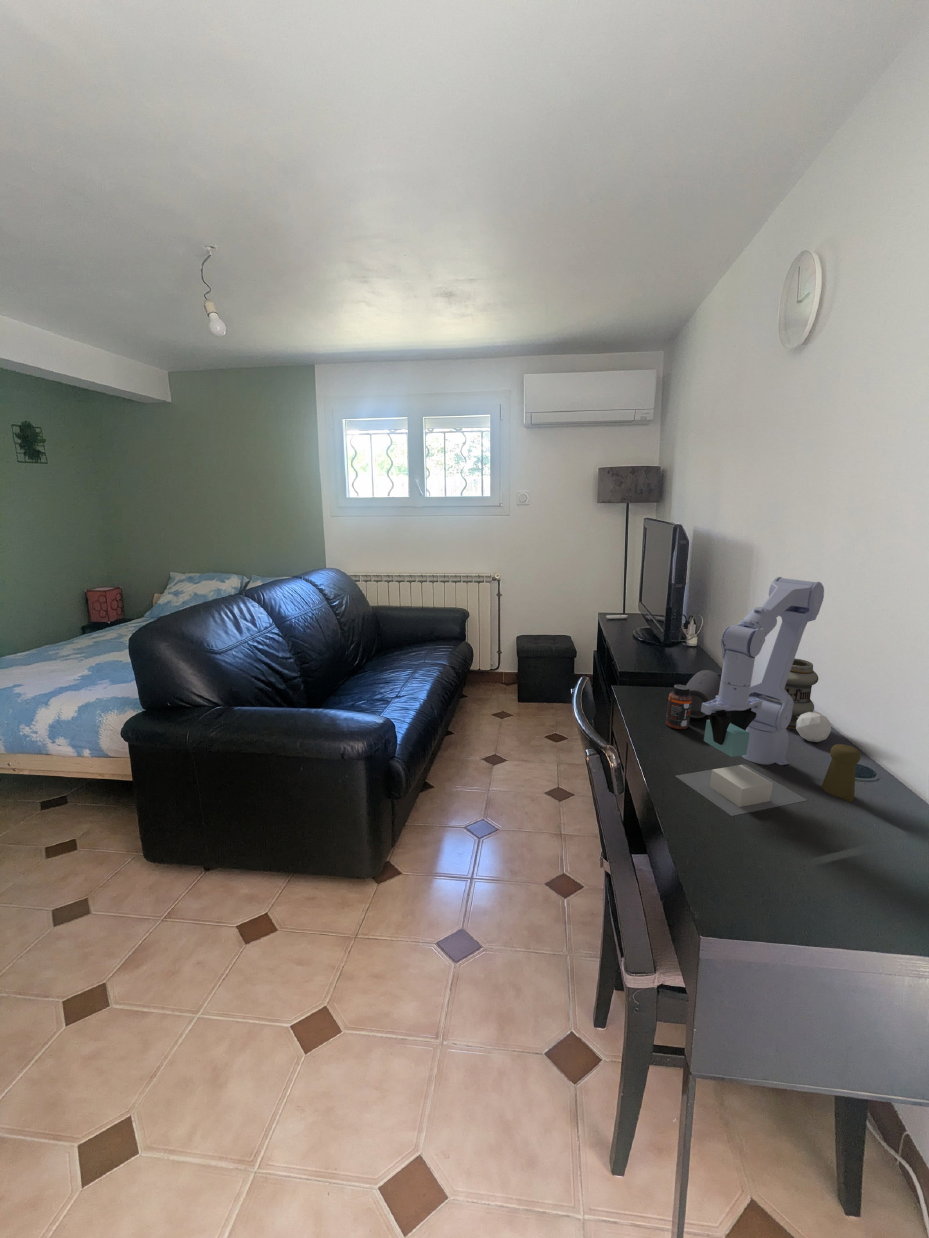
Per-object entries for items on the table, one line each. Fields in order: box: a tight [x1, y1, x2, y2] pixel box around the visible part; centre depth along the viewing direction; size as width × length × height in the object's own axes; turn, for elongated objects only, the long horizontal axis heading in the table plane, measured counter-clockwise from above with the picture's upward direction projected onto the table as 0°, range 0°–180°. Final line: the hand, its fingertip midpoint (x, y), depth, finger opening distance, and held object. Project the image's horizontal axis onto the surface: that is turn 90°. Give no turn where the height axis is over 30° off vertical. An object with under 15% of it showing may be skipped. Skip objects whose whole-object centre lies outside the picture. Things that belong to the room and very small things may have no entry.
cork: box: [821, 743, 861, 803], centre depth 114 cm, size 6×6×11 cm
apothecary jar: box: [764, 657, 819, 730], centre depth 151 cm, size 12×12×18 cm
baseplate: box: [675, 763, 808, 817], centre depth 115 cm, size 20×16×1 cm
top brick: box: [703, 719, 750, 758], centre depth 117 cm, size 4×8×5 cm, turn 18°
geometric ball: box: [795, 711, 832, 743], centre depth 141 cm, size 8×8×8 cm
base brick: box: [710, 764, 773, 807], centre depth 112 cm, size 8×8×4 cm
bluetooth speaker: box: [685, 669, 721, 719], centre depth 159 cm, size 23×9×10 cm, turn 148°
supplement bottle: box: [665, 684, 692, 730], centre depth 147 cm, size 6×6×11 cm
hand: (726, 741), depth 116 cm, fingers closed on top brick, 4 cm apart
